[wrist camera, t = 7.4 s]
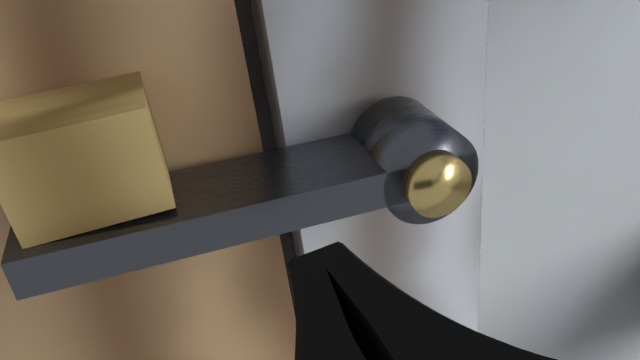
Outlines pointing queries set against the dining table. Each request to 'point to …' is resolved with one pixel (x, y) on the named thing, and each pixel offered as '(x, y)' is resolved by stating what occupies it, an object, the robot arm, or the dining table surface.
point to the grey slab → (216, 158)
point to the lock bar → (270, 198)
